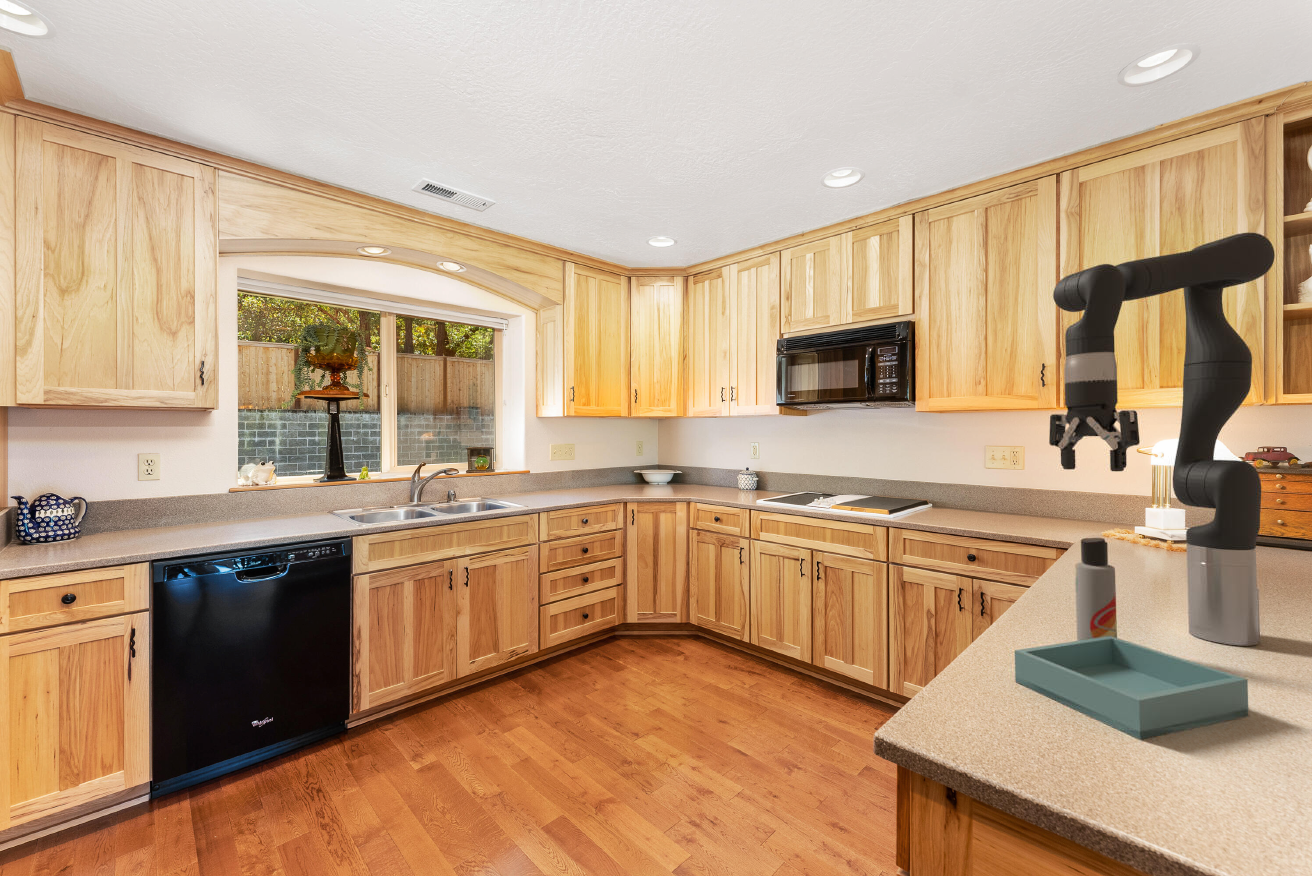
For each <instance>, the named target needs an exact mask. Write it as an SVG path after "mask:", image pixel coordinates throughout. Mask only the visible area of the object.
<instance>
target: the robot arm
mask: <svg viewBox="0 0 1312 876" xmlns="http://www.w3.org/2000/svg"><path fill="white" fill-rule="evenodd" d="M1274 249H1275V248H1274V246H1273V244H1272V242H1271V241H1270V239H1269V238H1268V237H1266V236H1265V235H1263V234H1260V233H1257V232H1243V233H1242V232H1241V233H1236V234H1233V235H1229V236H1226V237H1223V238H1220V239H1217V240H1214V241H1210V242H1207V243H1204V244H1202V245H1199V246H1196V247H1194V248H1193V249H1191V250H1188V251H1183V252H1176V253H1170V254H1166V255H1165V254H1164V255H1159V256H1158V255H1157V256H1152V257H1146V258H1142V259H1135V260H1131V261H1126V262H1123V263H1120V264H1119V263H1118V264H1116V265H1113V264H1109V263H1103V264H1102V263H1101V264H1098V265H1096V266H1095V265H1094V266H1092V267H1090V268H1086V269H1082V270H1080V271H1077V272H1074V273H1070V274H1068V275H1066V276H1065V277H1063V278H1061V279H1060V280H1059V281H1058V282H1057V284H1056V285H1055V287H1054V290H1053V294H1052V297H1053V301H1054V302H1055V305H1056V306H1057V307H1058V308H1059V309H1060V310H1063V311H1065V312H1071V313H1078V312H1082V311H1083V314H1082V317H1081V318H1080V319H1079V320H1078V321H1077V322H1075V323H1073V324H1071V325H1069V326H1068V327H1067V328H1066V330H1065V334H1064V335H1065V336H1064V337H1065V338H1064V343H1065V345H1064V346H1065V363H1064V370H1063V372H1064V373H1063V375H1064V376H1063V377H1064V379H1063V380H1064V406H1065V407H1066V409H1067V412H1066V414H1061V413H1057V414H1056V413H1054V414H1051V415H1050V417H1049V442H1048V443H1049V446H1051V447H1052V446H1053V447H1057V448H1059V450H1060V465H1061V466H1062V468H1063V470H1075V469H1076V449H1074V447H1075V446H1076V445H1077V443H1078V442H1079V441H1081V440H1082V439H1083V438H1084V437H1099V438H1100V439H1102V440H1103V441H1105V443H1107V445H1108V446H1109V447H1110V448H1111V449H1109V458H1110V459H1109V461H1110V462H1109V466H1110V468H1109V469H1110V472H1123V471H1124V470H1125V469H1126V468H1127V466H1128V465H1127V450H1128V448H1132V447H1134V446H1139V444H1140V432H1139V431H1140V429H1139V420H1138V412H1137V411H1136V410H1134V409H1133V410H1130V409H1129V410H1128V409H1127V410H1124V409H1123V410H1121V411H1117V409H1116V406H1117V404H1119V403H1118V402H1119V401H1118V367H1117V360H1116V353H1115V352H1116V351H1115V328H1116V326H1117V322H1118V320H1119V317H1120V316H1119V315H1120V312H1121V309H1122V306H1123V302H1129V301H1134V300H1140V299H1145V298H1149V297H1153V296H1154V297H1155V296H1158V295H1162V294H1166V293H1170V292H1173V291H1176V290H1180V289H1183V297H1184V307H1185V308H1184V309H1185V350H1184V352H1185V353H1184V360H1183V362H1184V363H1183V373H1182V374H1183V375H1182V376H1183V377H1182V378H1183V379H1182V409H1181V412H1182V413H1181V419H1180V421H1181V422H1180V431H1179V436H1178V437H1179V438H1178V442H1177V448H1176V453H1175V458H1174V464H1173V471H1172V488H1173V489H1172V490H1173V492H1174V495H1175V498H1176V499H1177V500H1178V501H1179V502H1180V503H1181V504H1183V505H1185V506H1188V507H1194V508H1201V509H1203V508H1205V509H1213V510H1215V512H1214V518H1213V519H1212V521H1210V522H1208V523H1205V524H1201V525H1196V526H1191V527H1189V528H1187V530H1186V532H1185V540H1186V542H1185V543H1186V569H1187V571H1186V574H1187V575H1186V577H1187V606H1188V612H1187V614H1188V615H1187V616H1188V633H1189V634H1191V635H1192V636H1194V637H1196V638H1199V639H1201V640H1206V641H1210V642H1215V643H1220V644H1225V645H1231V646H1243V647H1244V646H1255V645H1258V644H1259V640H1261V629H1260V628H1261V627H1260V626H1261V624H1260V622H1261V621H1260V619H1261V618H1260V593H1259V592H1260V590H1259V588H1258V577H1257V576H1258V573H1257V548H1256V547H1257V546H1256V545H1257V540H1258V539H1257V537H1258V535H1259V534H1260V527H1261V507H1262V483H1261V482H1262V481H1261V478H1260V475H1259V473H1258V470H1257V469H1256V467H1254V465H1252V464H1251V463H1250V462H1247V461H1244V460H1233V459H1215V457H1214V455H1215V448H1216V443H1217V439H1218V437H1219V434H1220V433H1221V430H1223V428H1224V426H1225V425H1226V423H1227V422H1228V421H1229V420H1230V418H1232V417H1233V415H1234V414H1235V413H1236V411H1237V410H1238V409H1239V408H1240V407H1241V405H1242V404H1243V403H1244V401H1245V400H1246V398H1247V397H1248V395H1249V392H1250V390H1251V386H1252V372H1253V370H1252V369H1253V367H1252V366H1253V356H1252V352H1251V349H1250V348H1249V346H1248V345H1247V343H1246V342H1245V341H1244V340H1243V338H1242V337H1241V336H1240V335H1239V333H1238V332H1237V331H1236V330H1235V329H1234V328H1233V327H1232V326H1231V324H1230V323H1229V322H1228V320H1227V318H1226V316H1225V313H1224V308H1223V291H1224V289H1227V288H1230V287H1234V286H1239V285H1243V284H1247V283H1249V282H1252V281H1255V280H1257V279H1259V278H1262V277H1264V275H1265V274H1267V273H1268V272H1269V271H1270V270H1271V268H1272V267H1273V265H1274V262H1275V256H1276V255H1275V250H1274ZM1116 422H1118V424H1119V428H1120V430H1119V429H1118V427H1116V426H1115V423H1116ZM1067 424H1068V425H1069V426H1068V427H1067V429H1066V426H1067Z"/></svg>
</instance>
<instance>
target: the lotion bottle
mask: <svg viewBox="0 0 1312 876" xmlns="http://www.w3.org/2000/svg"><path fill="white" fill-rule="evenodd" d="M1108 547H1109V546H1108V542H1107V541H1106V539H1105V538H1103V537H1088V538H1087V537H1086V538H1082V539H1081V540H1080V557H1081V560H1080V561H1081V562H1080V561H1079V562H1076V563H1075V564H1074V565H1075V566H1074V576H1075V577H1074V579H1075V580H1074V581H1075V613H1076V615H1075V616H1076V621H1075V622H1076V641H1080V640H1086V639H1093V638H1099V637H1106V636H1112V637H1115V638H1118V627H1117V626H1118V625H1117V623H1118V622H1117V596H1116V595H1117V590H1116V588H1117V587H1116V568H1115V567H1114V566H1113V565H1110V564H1109V557H1108V556H1109V555H1108V554H1109V551H1108V549H1109V548H1108Z"/></svg>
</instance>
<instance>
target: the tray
mask: <svg viewBox="0 0 1312 876" xmlns="http://www.w3.org/2000/svg"><path fill="white" fill-rule="evenodd" d="M1014 672H1015V673H1014V675H1015V676H1014V677H1015V678H1014V679H1015V681H1014V682H1015V683H1017V684H1019V685H1021V686H1023V687H1025V688H1028V689H1029V690H1031V691H1034V692H1036V693H1038V694H1040V695H1043V696H1045V697H1047V698H1049V699H1051V700H1054V701H1055V702H1056V703H1060V704H1062V705H1064V706H1066V707H1068V708H1070V709H1073V710H1074V711H1076V712H1079V713H1080V714H1081V713H1082V714H1084V716H1085V715H1086V716H1087V717H1089V718H1092V719H1094V720H1096V721H1098V722H1100V723H1103V724H1105V725H1106V726H1110V727H1112V728H1114V729H1116V730H1118V731H1120V732H1122V733H1124V734H1127V735H1128V736H1131V737H1133V738H1135V739H1138V740H1139V741H1141V740H1146V739H1149V738H1150V739H1151V738H1156V737H1160V736H1164V735H1169V734H1173V733H1178V732H1182V731H1183V732H1184V731H1187V730H1191V729H1195V728H1200V727H1205V726H1209V725H1213V724H1218V723H1219V724H1220V723H1222V722H1227V721H1232V720H1237V719H1241V718H1246V717H1249V688H1248V686H1249V684H1248V683H1249V681H1248V679H1247V678H1245V677H1243V676H1238V675H1235V674H1233V673H1230V672H1226V671H1223V670H1220V669H1217V668H1213V667H1210V666H1206V665H1204V664H1200V663H1197V662H1194V661H1190V660H1188V659H1184V658H1181V657H1179V656H1175V655H1172V654H1169V653H1165V652H1163V651H1161V650H1160V651H1159V650H1158V649H1153V648H1149V647H1146V646H1143V645H1140V644H1137V643H1134V642H1130V641H1128V640H1124V639H1121V638H1118V637H1117V638H1115V637H1112V636H1106V637H1099V638H1093V639H1086V640H1080V641H1077V640H1076V641H1075V640H1074V641H1066V642H1062V643H1054V644H1049V645H1042V646H1036V647H1035V646H1034V647H1029V648H1028V647H1027V648H1020V649H1016V650H1014Z"/></svg>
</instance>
